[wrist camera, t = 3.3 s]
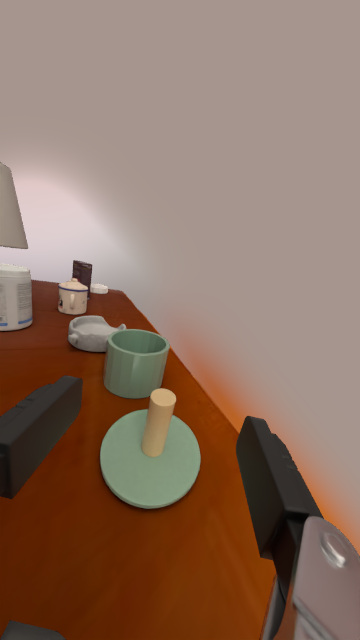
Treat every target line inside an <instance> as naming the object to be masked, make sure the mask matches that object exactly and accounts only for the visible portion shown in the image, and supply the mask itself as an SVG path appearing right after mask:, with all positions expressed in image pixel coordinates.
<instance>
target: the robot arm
mask: <svg viewBox="0 0 360 640" xmlns="http://www.w3.org/2000/svg"><path fill="white" fill-rule="evenodd" d="M82 385H83V381H82V379H80V378H76V377H71V376H66V375H65V376H63V377H62V378H60V379H59V380H58V381H57V382H56V383H54V384H48V385H45V386H43V387H41V388H39V389H36V390H35V391H34V392H32V393H31V394H30V395H28V396H27V397H26V398H25V399H24V400H22V401H21V402H19V403H18V404H17V405H16V406H15V407H13V408H11V409H10V410H9V411H7V412H6V413H5V414H4V415H2V416H1V417H0V496H1V497H5V498H9V499H13V498H14V496H15V495H16V494H17V493H18V491H19V490H20V489H21V487H22V486H23V485H24V484H25V482H26V481H27V480H28V479H29V477H30V476H31V475H32V473H33V472H34V471H35V470H36V468H37V467H38V466H39V465H40V463H41V462H42V461H43V460H44V458H45V457H46V456H47V454H48V453H49V452H50V451H51V449H52V448H53V447H54V446H55V444H56V443H57V442H58V440H59V439H60V438H61V437H62V435H63V434H64V433H65V432H66V430H67V429H68V428H69V426H70V425H71V424H72V423H73V421H74V420H75V419H76V417H77V415H78V413H79V411H80V408H81V398H82ZM236 455H237V459H238V464H239V468H240V472H241V476H242V481H243V485H244V489H245V493H246V498H247V502H248V506H249V511H250V515H251V519H252V523H253V528H254V532H255V536H256V540H257V545H258V549H259V553H260V557H261V558H266V559H270V560H273V561H274V565H275V568H276V572H277V573H276V574H275V577H274V580H273V584H272V588H271V592H270V596H269V601H268V605H267V609H266V613H265V617H264V621H263V626H262V630H261V634H260V638H259V640H360V556H359V554H358V553H357V551H356V550H355V548H354V547H353V545H352V544H351V543H350V541H349V540H348V539H347V538H346V537H345V536H344V534H343V533H342V532H341V531H340V530H339V529H337V528H336V527H335V526H334V525H332V524H331V523H330V522H328V521H326V520H325V519H324V518H323V516H322V514H321V512H320V510H319V508H318V507H317V505H316V503H315V501H314V499H313V497H312V495H311V493H310V491H309V489H308V488H307V486H306V484H305V482H304V480H303V478H302V476H301V474H300V473H299V471H298V470H297V467H296V465H295V463H294V461H293V460H292V457H291V455H290V453H289V451H288V450H287V448H286V446H285V444H284V443H283V442H282V441H281V440H280V439H279V438H278V436H277V435H276V434H272V433H271V431H270V429H269V427H268V425H267V423H266V421H265V420H264V419H260V418H255V417H251V416H247V417H246V418H245V421H244V423H243V426H242V429H241V431H240V434H239V437H238V440H237V444H236ZM0 640H66V639H65V638H64V637H63V636H62V635H61V634H59V633H58V632H57V631H53V630H49V629H45V628H41V627H36V626H32V625H28V624H24V623H19V622H15V621H11V620H10V622H9V623H8V625H7V627H6V629H5V631H4V633H3V635H2V637H1V639H0Z"/></svg>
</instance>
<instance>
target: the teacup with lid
mask: <svg viewBox="0 0 360 640" xmlns="http://www.w3.org/2000/svg"><path fill="white" fill-rule="evenodd" d="M77 281H78V280H77V279H75V278H71V281H67V282H65V283H60V284H59V286H58V287H59V306H58V310H59V311H60V312H62V313H65V314H74V315H76V314H83V313H85V312H86V304H87V291H88V287H87V286H84V285H82V284H81V283H80V282H77Z"/></svg>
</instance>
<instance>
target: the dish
mask: <svg viewBox="0 0 360 640" xmlns="http://www.w3.org/2000/svg"><path fill="white" fill-rule="evenodd" d="M124 329H126V327H125V325H124V324H122V325H121V326H120V327H118V328H112V327H110V326H109V325H108V324H107V323H106V322H105V320H104V319H103V317H101V316H82V317H77V318H75V319H74V320H72V321H71V322H70V325H69V336H68V341H69V342H70V343H71V344H72V345H73V346H74V347H76V348H78V349H82V350H86V351H93V352H106V347H107V339H108V336H109V335H110V334H111V333H113V332H115V331H118V330H124Z"/></svg>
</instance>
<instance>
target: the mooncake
mask: <svg viewBox="0 0 360 640" xmlns="http://www.w3.org/2000/svg"><path fill="white" fill-rule="evenodd" d="M90 292H92V293H99V294H104V293H105V294H106V293H108V287H107V286H105V285H101V284H95V283H91V286H90Z"/></svg>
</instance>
